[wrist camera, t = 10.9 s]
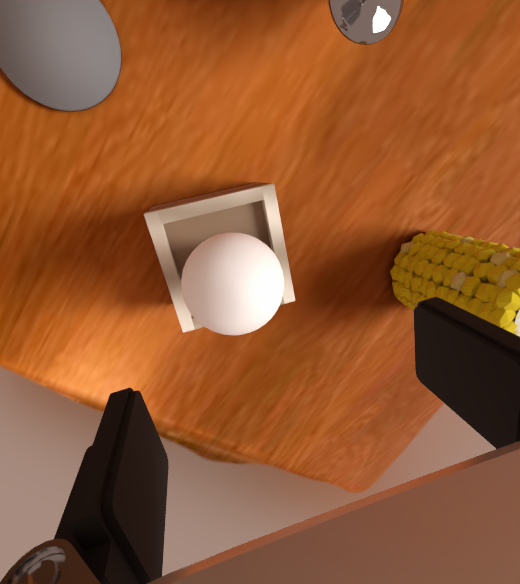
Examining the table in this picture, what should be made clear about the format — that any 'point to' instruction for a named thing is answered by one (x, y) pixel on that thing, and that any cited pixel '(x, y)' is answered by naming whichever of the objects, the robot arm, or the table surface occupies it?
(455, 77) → the table surface
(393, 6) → the wine glass
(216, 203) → the square holder
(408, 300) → the food
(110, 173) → the table surface
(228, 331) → the lightbulb
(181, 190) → the table surface
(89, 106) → the grey flat disc
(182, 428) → the table surface
